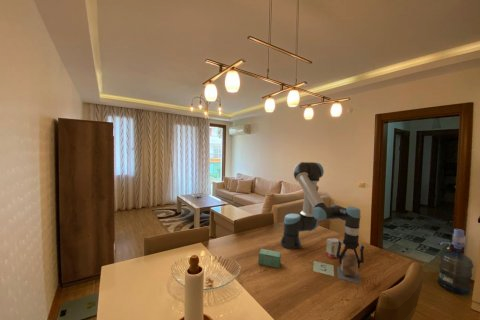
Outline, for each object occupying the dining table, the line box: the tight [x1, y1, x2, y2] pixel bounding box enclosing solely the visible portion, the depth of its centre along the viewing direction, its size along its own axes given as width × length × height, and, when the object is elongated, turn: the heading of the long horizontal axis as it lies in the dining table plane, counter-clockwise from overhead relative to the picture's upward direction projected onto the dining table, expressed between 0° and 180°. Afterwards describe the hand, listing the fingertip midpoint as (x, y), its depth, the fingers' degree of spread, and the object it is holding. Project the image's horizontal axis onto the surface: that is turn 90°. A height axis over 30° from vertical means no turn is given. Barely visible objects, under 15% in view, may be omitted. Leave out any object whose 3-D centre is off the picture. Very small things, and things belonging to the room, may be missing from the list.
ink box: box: [325, 237, 341, 259], centre depth 149 cm, size 9×5×12 cm, turn 108°
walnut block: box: [342, 252, 358, 277], centre depth 126 cm, size 7×7×10 cm
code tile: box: [312, 260, 335, 277], centre depth 133 cm, size 12×13×1 cm
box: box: [257, 248, 282, 269], centre depth 135 cm, size 7×14×8 cm, turn 74°
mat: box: [336, 266, 362, 285], centre depth 127 cm, size 12×14×1 cm
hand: (348, 270), depth 127 cm, fingers closed on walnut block, 7 cm apart
